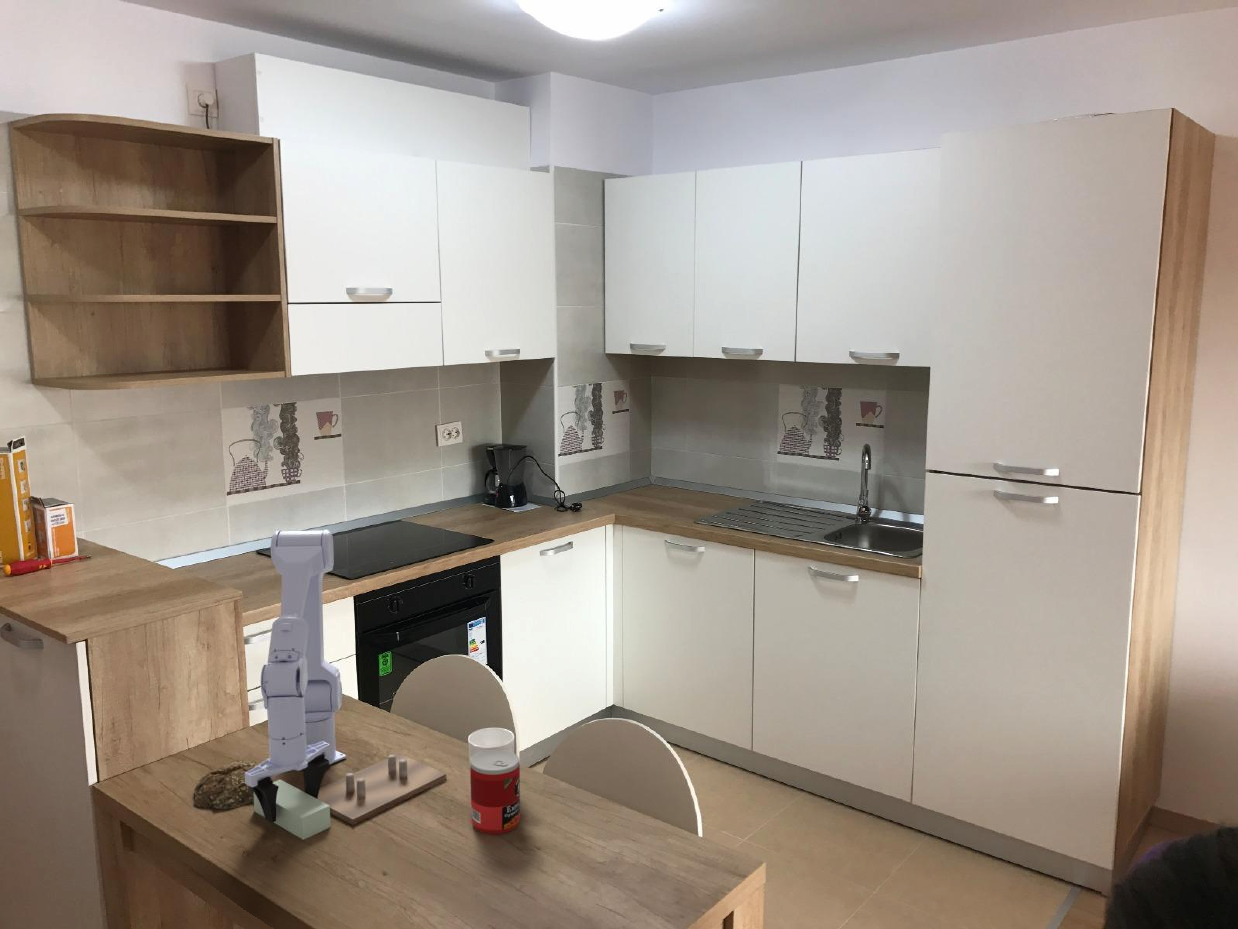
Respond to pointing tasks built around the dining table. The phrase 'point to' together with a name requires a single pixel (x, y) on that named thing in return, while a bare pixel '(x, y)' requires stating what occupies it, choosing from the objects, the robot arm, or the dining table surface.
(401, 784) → the peg base
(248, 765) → the bread roll
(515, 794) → the canned food
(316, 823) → the pale green rectangular block
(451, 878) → the dining table surface
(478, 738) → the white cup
